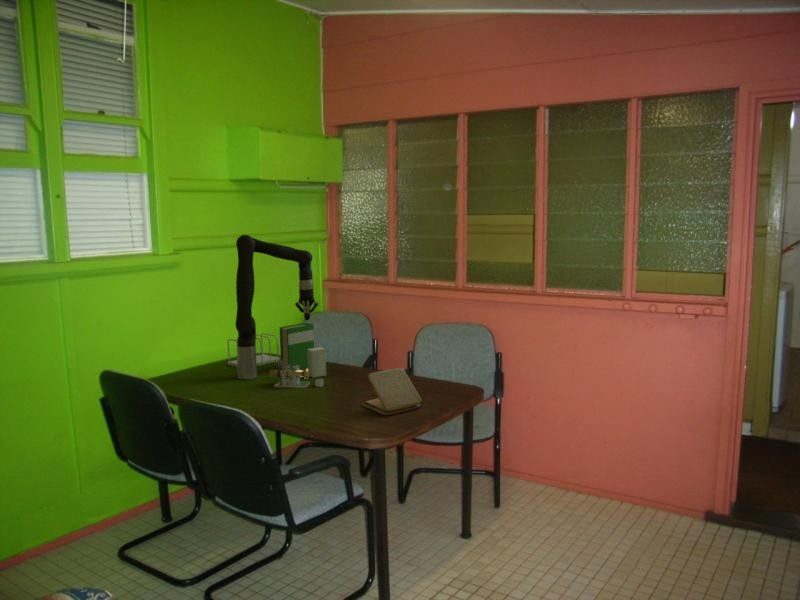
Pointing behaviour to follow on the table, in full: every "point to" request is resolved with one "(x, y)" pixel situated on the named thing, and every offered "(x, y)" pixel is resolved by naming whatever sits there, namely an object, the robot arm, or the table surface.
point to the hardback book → (296, 344)
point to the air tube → (299, 373)
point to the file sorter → (259, 358)
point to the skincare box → (316, 362)
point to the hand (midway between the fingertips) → (307, 320)
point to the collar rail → (293, 377)
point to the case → (392, 392)
